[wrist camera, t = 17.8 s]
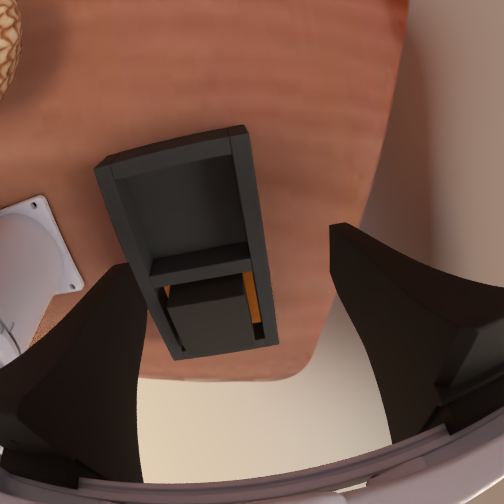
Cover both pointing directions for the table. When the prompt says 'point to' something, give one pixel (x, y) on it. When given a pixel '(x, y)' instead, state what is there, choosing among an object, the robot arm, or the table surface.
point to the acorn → (9, 42)
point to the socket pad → (191, 223)
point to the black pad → (212, 314)
